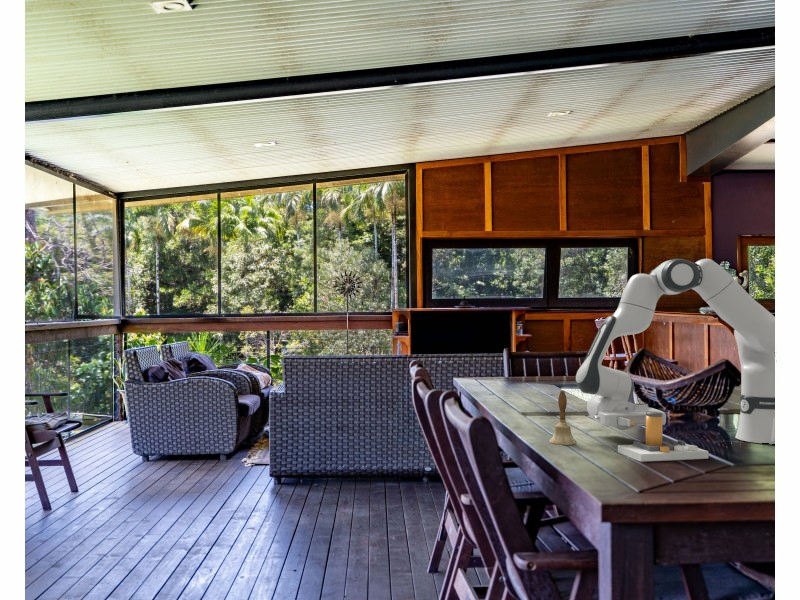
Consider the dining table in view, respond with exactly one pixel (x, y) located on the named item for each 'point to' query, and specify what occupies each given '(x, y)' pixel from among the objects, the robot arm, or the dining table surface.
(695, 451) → the board
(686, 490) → the dining table surface
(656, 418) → the orange capped cylinder
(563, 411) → the hand bell
